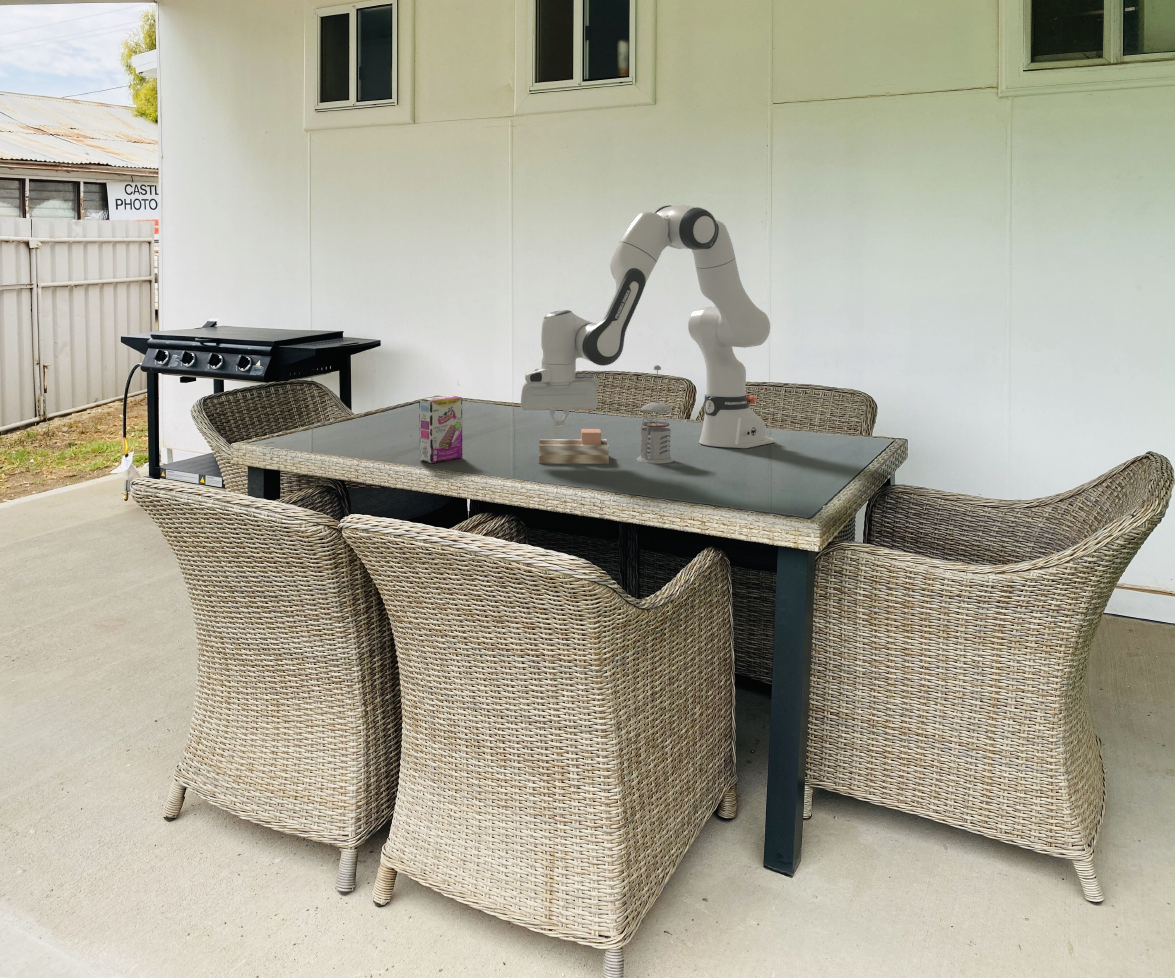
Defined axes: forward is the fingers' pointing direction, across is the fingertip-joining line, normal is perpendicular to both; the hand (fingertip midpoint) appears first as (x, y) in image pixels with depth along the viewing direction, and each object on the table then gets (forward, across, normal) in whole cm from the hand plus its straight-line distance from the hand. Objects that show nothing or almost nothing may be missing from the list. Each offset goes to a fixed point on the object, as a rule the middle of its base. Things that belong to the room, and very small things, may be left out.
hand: (559, 426), depth 256 cm
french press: (+9, -25, +2) cm, 26 cm away
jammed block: (+7, -8, +1) cm, 10 cm away
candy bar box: (+8, +31, +2) cm, 32 cm away
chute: (+9, -4, +1) cm, 9 cm away
